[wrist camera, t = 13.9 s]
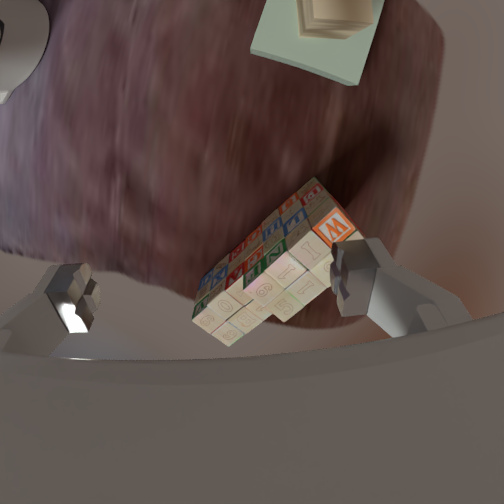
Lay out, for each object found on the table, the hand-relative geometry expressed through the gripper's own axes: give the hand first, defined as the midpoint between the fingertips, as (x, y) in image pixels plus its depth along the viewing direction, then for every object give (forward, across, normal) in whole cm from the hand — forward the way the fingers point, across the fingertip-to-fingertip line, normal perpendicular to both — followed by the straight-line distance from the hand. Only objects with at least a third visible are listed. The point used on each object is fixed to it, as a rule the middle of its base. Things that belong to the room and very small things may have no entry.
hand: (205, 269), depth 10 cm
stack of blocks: (+28, -4, +18) cm, 34 cm away
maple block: (+27, -11, -11) cm, 31 cm away
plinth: (+31, -11, -10) cm, 35 cm away
